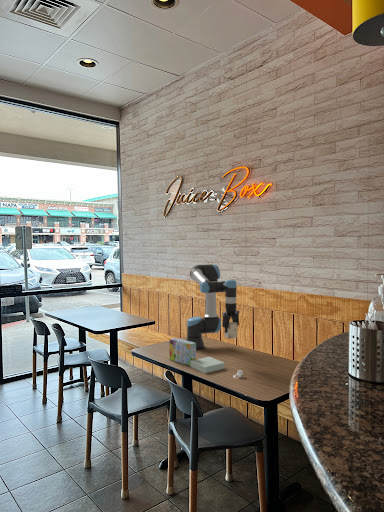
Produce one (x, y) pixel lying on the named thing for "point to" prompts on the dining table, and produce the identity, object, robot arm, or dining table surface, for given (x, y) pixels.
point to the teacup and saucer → (239, 374)
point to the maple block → (232, 330)
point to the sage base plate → (207, 364)
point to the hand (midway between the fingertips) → (230, 336)
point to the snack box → (182, 351)
